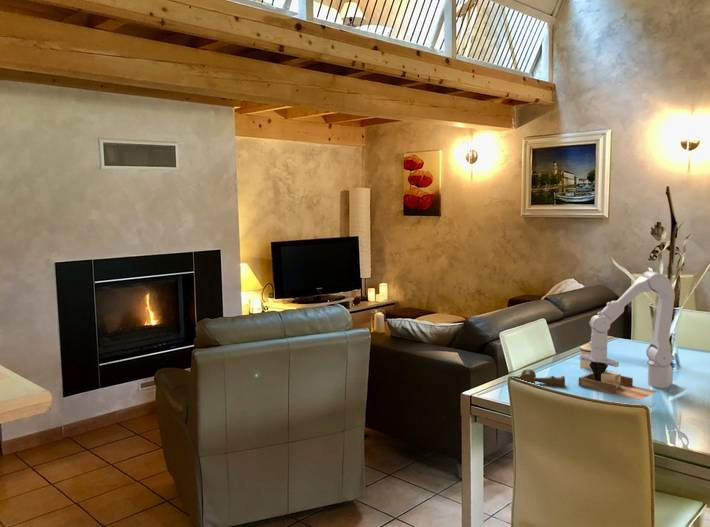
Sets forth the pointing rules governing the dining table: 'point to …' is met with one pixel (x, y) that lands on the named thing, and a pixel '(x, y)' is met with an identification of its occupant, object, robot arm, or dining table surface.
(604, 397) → the dining table surface
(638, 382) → the dining table surface
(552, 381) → the kendama
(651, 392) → the brown wooden tray
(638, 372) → the dining table surface
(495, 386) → the dining table surface
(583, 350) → the teacup with lid
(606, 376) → the maple block
